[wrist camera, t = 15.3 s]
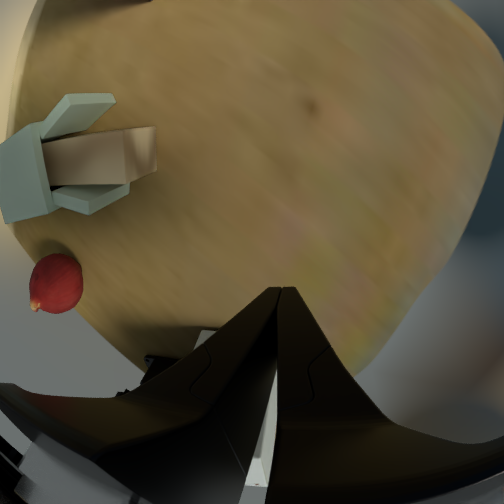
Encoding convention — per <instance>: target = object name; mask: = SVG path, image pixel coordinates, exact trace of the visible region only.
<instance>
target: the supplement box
mask: <svg viewBox="0 0 504 504" xmlns="http://www.w3.org/2000/svg"><path fill="white" fill-rule="evenodd" d="M215 332H216V331H208V330H202V331H201V333H200V335H199V338H198V340H197V342H196V345H195V347H194V349H195V348H197V347H198V346H199V345H200V344H202V343H203V342H204V341H205V340H206V339H208V338H209V337H210V336H211V335H213V334H214V333H215ZM203 344H204V343H203ZM276 421H277V371H276V375H275V379H274V383H273V387H272V390H271V394H270V398H269V402H268V406H267V409H266V413H265V417H264V420H263V424H262V428H261V431H260V435H259V438H258V442H257V445H256V449H255V452H254V455H253V459H252V462H251V465H250V469H249V472H248V475H247V477H246V482H245V485H251V486H264V487H267V486H268V482H269V476H270V470H271V464H272V457H273V449H274V440H275V431H276Z"/></svg>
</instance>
